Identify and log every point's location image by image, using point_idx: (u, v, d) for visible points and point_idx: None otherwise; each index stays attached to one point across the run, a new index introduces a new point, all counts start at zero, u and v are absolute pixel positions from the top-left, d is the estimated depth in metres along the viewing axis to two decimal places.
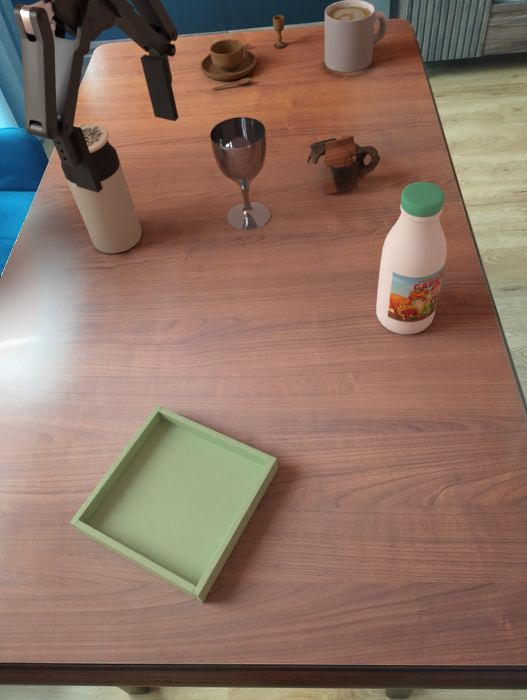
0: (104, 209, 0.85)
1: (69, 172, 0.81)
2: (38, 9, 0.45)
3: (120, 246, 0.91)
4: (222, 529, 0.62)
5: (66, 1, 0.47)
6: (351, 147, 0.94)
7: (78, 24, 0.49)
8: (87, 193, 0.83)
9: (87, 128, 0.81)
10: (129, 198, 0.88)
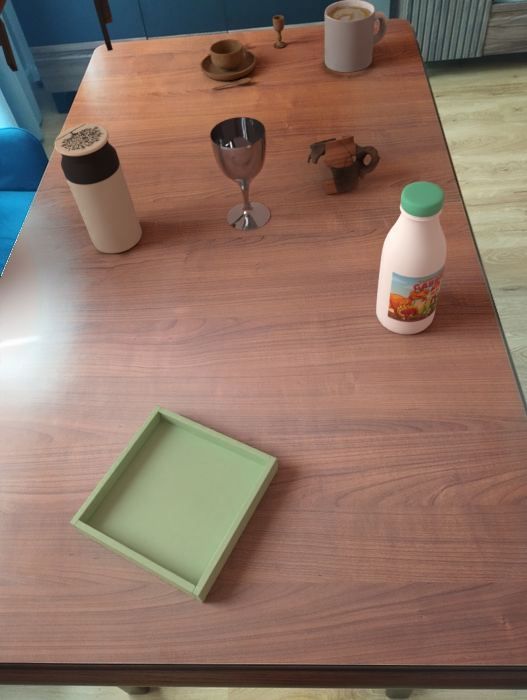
0: (104, 209, 0.85)
1: (69, 172, 0.81)
2: None
3: (120, 246, 0.91)
4: (222, 529, 0.62)
5: None
6: (351, 147, 0.94)
7: None
8: (87, 193, 0.83)
9: (87, 128, 0.81)
10: (129, 198, 0.88)
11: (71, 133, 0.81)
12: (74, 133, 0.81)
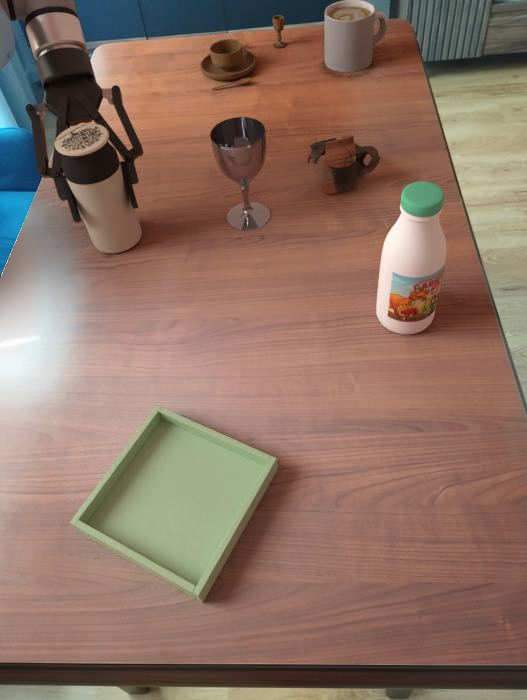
0: (104, 209, 0.85)
1: (69, 172, 0.81)
2: None
3: (120, 246, 0.91)
4: (222, 529, 0.62)
5: None
6: (351, 147, 0.94)
7: None
8: (87, 193, 0.83)
9: (87, 128, 0.81)
10: (129, 198, 0.88)
11: (71, 133, 0.81)
12: (74, 133, 0.81)
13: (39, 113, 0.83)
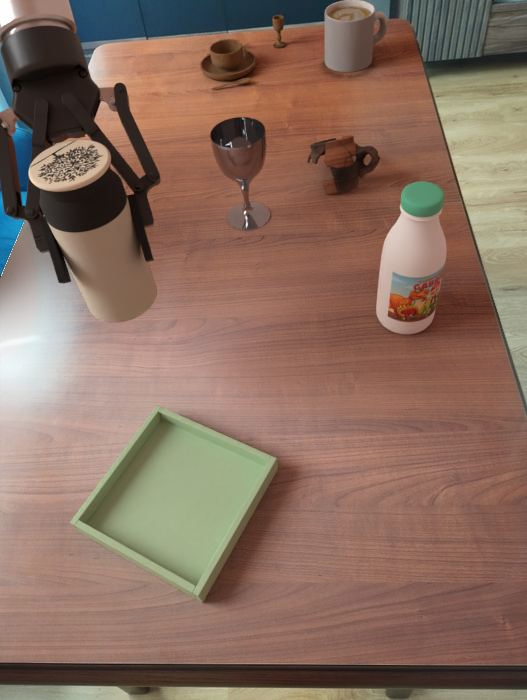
0: (105, 266, 0.58)
1: (51, 215, 0.53)
2: None
3: (128, 313, 0.63)
4: (222, 529, 0.62)
5: None
6: (351, 147, 0.94)
7: None
8: (79, 243, 0.55)
9: (78, 147, 0.54)
10: (140, 246, 0.61)
11: (54, 155, 0.54)
12: (58, 155, 0.54)
13: (6, 125, 0.55)
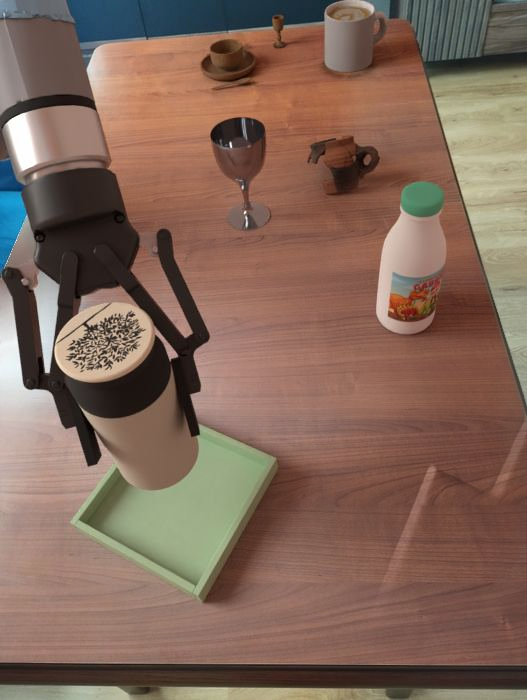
0: (143, 445, 0.48)
1: (81, 400, 0.44)
2: None
3: (166, 482, 0.54)
4: (222, 529, 0.62)
5: None
6: (351, 147, 0.94)
7: None
8: (114, 427, 0.45)
9: (114, 315, 0.44)
10: None
11: (85, 326, 0.44)
12: (91, 326, 0.44)
13: (27, 282, 0.46)
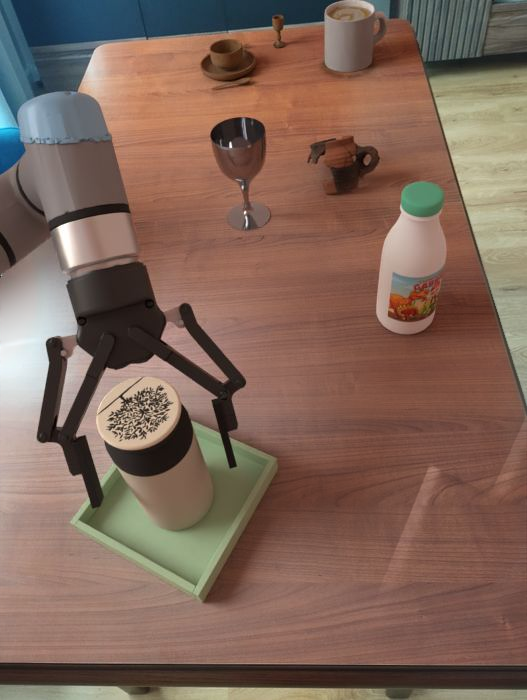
0: (169, 496, 0.56)
1: (118, 461, 0.51)
2: None
3: (186, 523, 0.61)
4: (222, 529, 0.62)
5: None
6: (351, 147, 0.94)
7: None
8: (145, 483, 0.53)
9: (146, 388, 0.52)
10: (202, 465, 0.59)
11: (121, 398, 0.52)
12: (126, 399, 0.52)
13: (65, 354, 0.53)
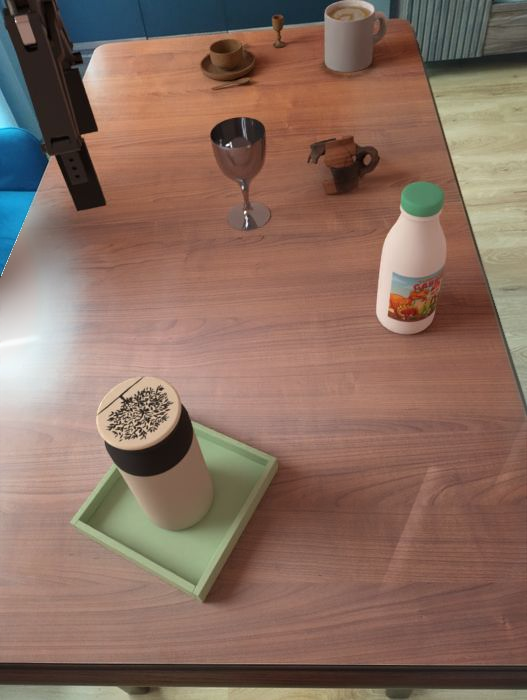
0: (169, 496, 0.56)
1: (118, 461, 0.51)
2: None
3: (186, 523, 0.61)
4: (222, 529, 0.62)
5: None
6: (351, 147, 0.94)
7: None
8: (145, 483, 0.53)
9: (146, 388, 0.52)
10: (202, 465, 0.59)
11: (121, 398, 0.52)
12: (126, 399, 0.52)
13: (46, 33, 0.44)
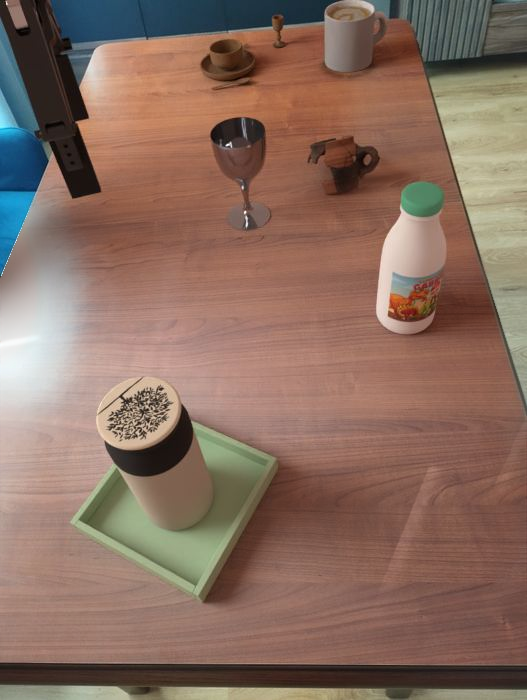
0: (169, 496, 0.56)
1: (118, 461, 0.51)
2: None
3: (186, 523, 0.61)
4: (222, 529, 0.62)
5: None
6: (351, 147, 0.94)
7: None
8: (145, 483, 0.53)
9: (146, 388, 0.52)
10: (202, 465, 0.59)
11: (121, 398, 0.52)
12: (126, 399, 0.52)
13: (37, 16, 0.43)
